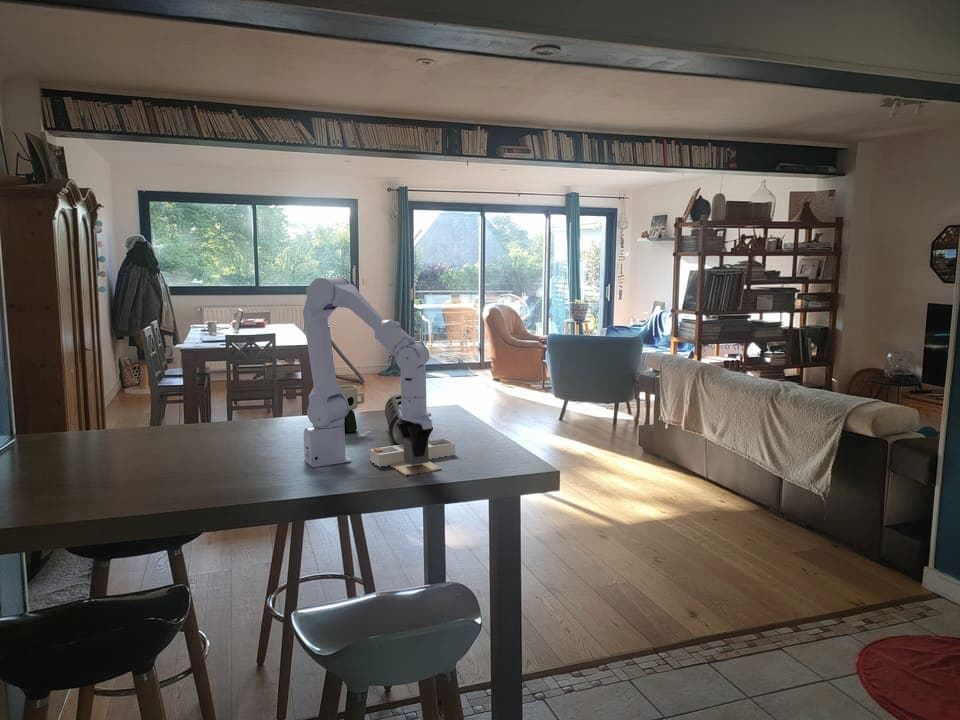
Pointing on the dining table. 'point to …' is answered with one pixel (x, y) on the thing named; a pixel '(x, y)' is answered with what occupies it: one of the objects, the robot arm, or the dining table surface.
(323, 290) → the robot arm
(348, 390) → the character mug
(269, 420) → the dining table surface
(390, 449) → the socket strip
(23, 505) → the dining table surface
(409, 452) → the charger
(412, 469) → the coaster
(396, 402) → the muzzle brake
